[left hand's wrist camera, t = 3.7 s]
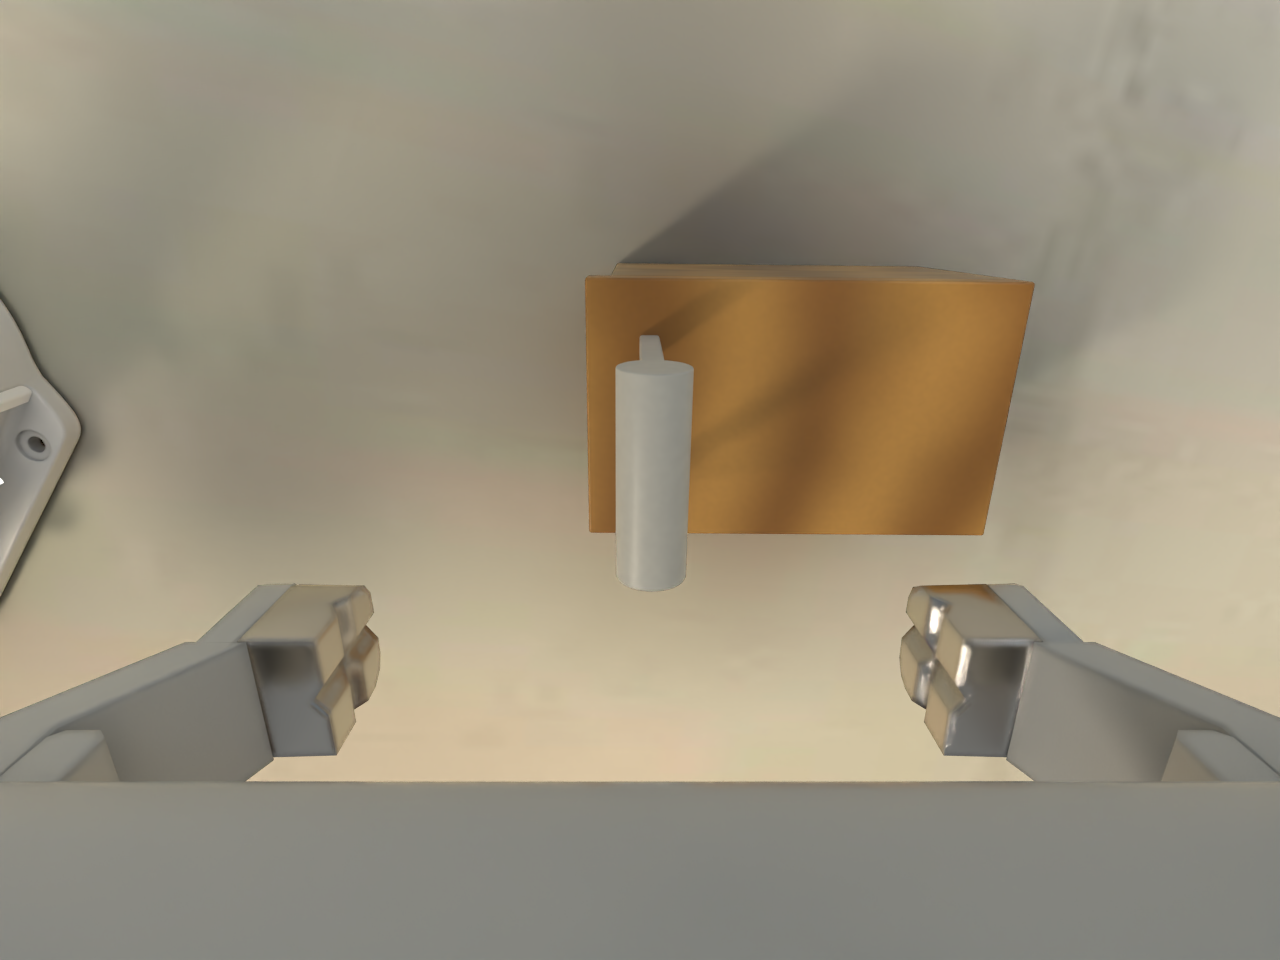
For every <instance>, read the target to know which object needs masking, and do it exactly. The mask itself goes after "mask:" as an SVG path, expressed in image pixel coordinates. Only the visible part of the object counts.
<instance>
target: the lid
mask: <svg viewBox="0 0 1280 960" xmlns="http://www.w3.org/2000/svg"><path fill="white" fill-rule="evenodd" d="M1034 286H1035V284H1034V283H1033V282H1028V281H1021V280H968V279H877V278H785V277H693V276H601V275H589V276H587V277H586V279H585V305H586V365H587V425H588V486H589V531H590V532H596V533H616V576H617V579H618V580H619V581H620V582H621V583H622V584H623V585H625V586H627V587H629V588H632V589H636V590H640V591H651V592H652V591H664V590H668V589H672V588H674V587H676V586H678V585H680V584H681V583H682V582H683V581H684V579H685V577H686V558H687V533H738V534H880V535H983V533H984V529H985V524H986V519H987V514H988V509H989V504H990V499H991V495H992V490H993V485H994V480H995V475H996V470H997V465H998V461H999V456H1000V451H1001V446H1002V441H1003V436H1004V431H1005V427H1006V422H1007V417H1008V412H1009V407H1010V402H1011V397H1012V393H1013V388H1014V383H1015V378H1016V373H1017V368H1018V363H1019V359H1020V354H1021V349H1022V344H1023V339H1024V334H1025V329H1026V325H1027V320H1028V315H1029V310H1030V305H1031V300H1032V295H1033V291H1034Z"/></svg>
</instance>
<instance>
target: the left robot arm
mask: <svg viewBox="0 0 1280 960" xmlns="http://www.w3.org/2000/svg"><path fill="white" fill-rule="evenodd" d="M80 434H81V426H80V422H79V420H78V418H77V416H76V414H75V413H74V411H73V410H72V408H71V407H70V406H69V405H68V403H67V402H66V401H65V400H64V399H63V398H62V396H61V395H60V394H59V393H58V392H57V391H56V390H55V389H54V388H53V387H52V385H51V384H50V383H49V382H48V381H47V380H46V379H45V378H44V377H43V376H42V374H41V373H40V371H39V369H38V368H37V366H36V364H35V362H34V360H33V358H32V356H31V354H30V351H29V349H28V347H27V345H26V342H25V340H24V338H23V336H22V334H21V332H20V330H19V328H18V326H17V324H16V322H15V321H14V319H13V317H12V315H11V314H10V312H9V311H8V309H7V308H6V306H5V305H4V303H3V302H2V301H1V299H0V596H1V594H2V592H3V590H4V588H5V586H6V584H7V582H8V580H9V578H10V576H11V574H12V572H13V570H14V568H15V566H16V564H17V562H18V560H19V558H20V556H21V554H22V552H23V550H24V548H25V546H26V544H27V542H28V540H29V538H30V536H31V534H32V532H33V530H34V528H35V526H36V524H37V522H38V520H39V518H40V516H41V514H42V512H43V510H44V508H45V506H46V504H47V502H48V500H49V498H50V496H51V494H52V492H53V490H54V488H55V486H56V484H57V482H58V480H59V478H60V476H61V474H62V472H63V470H64V468H65V466H66V464H67V462H68V460H69V458H70V456H71V454H72V452H73V450H74V448H75V446H76V444H77V442H78V440H79V438H80ZM39 438H40V439H41V440H42V441H43V442H44V443H45V446H43V445H42V444H41V442H40V439H39ZM373 613H374V609H373V604H372V599H371V594H370V592H369V590H368V589H367V588H366V587H365V586H364V585H311V584H299V585H297V584H265V585H258V586H257V587H256V588H254V589H253V590H252V591H251V592H250V593H249V594H248V595H247V596H246V597H245V598H244V599H243V600H241V601H240V602H239V603H238V604H237V605H236V606H235V607H234V608H233V609H232V610H231V611H230V612H228V613H227V614H226V615H225V616H224V617H223V618H222V619H221V620H220V621H219V622H218V623H216V624H215V625H214V626H213V627H212V628H211V629H210V630H209V631H208V632H207V633H206V634H205V635H203V636H202V637H201V638H200V639H199V640H198V641H197V642H185V643H182V644H180V645H177V646H175V647H172V648H170V649H167V650H165V651H162V652H160V653H158V654H155V655H153V656H150V657H148V658H145V659H143V660H140V661H138V662H135V663H133V664H131V665H128V666H126V667H123V668H121V669H118V670H116V671H113V672H111V673H108V674H106V675H104V676H101V677H99V678H96V679H94V680H91V681H89V682H86V683H84V684H81V685H79V686H77V687H74V688H72V689H69V690H67V691H64V692H62V693H59V694H57V695H54V696H52V697H50V698H47V699H45V700H42V701H40V702H37V703H35V704H32V705H30V706H27V707H25V708H23V709H20V710H18V711H15V712H13V713H10V714H8V715H5V716H3V717H0V960H1280V718H1279V717H1277V716H1274V715H1272V714H1269V713H1267V712H1264V711H1262V710H1259V709H1257V708H1255V707H1252V706H1250V705H1247V704H1245V703H1242V702H1240V701H1237V700H1235V699H1233V698H1230V697H1228V696H1225V695H1223V694H1220V693H1218V692H1215V691H1213V690H1211V689H1208V688H1206V687H1203V686H1201V685H1198V684H1196V683H1193V682H1191V681H1188V680H1186V679H1184V678H1181V677H1179V676H1176V675H1174V674H1171V673H1169V672H1166V671H1164V670H1162V669H1159V668H1157V667H1154V666H1152V665H1149V664H1147V663H1144V662H1142V661H1140V660H1137V659H1135V658H1132V657H1130V656H1127V655H1125V654H1122V653H1120V652H1118V651H1115V650H1113V649H1110V648H1108V647H1105V646H1103V645H1100V644H1098V643H1095V642H1083V641H1082V640H1081V639H1080V638H1079V637H1078V636H1077V635H1076V634H1074V633H1073V632H1072V631H1071V630H1070V629H1069V628H1068V627H1067V626H1066V625H1065V624H1064V623H1063V622H1061V621H1060V620H1059V619H1058V618H1057V617H1056V616H1055V615H1054V614H1053V613H1052V612H1051V611H1050V610H1048V609H1047V608H1046V607H1045V606H1044V605H1043V604H1042V603H1041V602H1040V601H1039V600H1038V599H1037V598H1035V597H1034V596H1033V595H1032V594H1031V593H1030V592H1029V591H1028V590H1027V589H1026V588H1025V587H1024V586H1021V585H1018V584H1014V583H1012V584H989V585H986V584H973V585H931V586H917V587H913V588H912V590H911V593H910V595H909V597H908V603H907V608H906V613H907V615H908V616H909V618H910V619H911V621H912V622H913V624H914V626H913V627H912V628H911V629H910V630H909V631H908V632H907V633H906V634H905V635H904V636H903V637H902V640H901V649H900V657H899V658H900V668H901V677H902V680H903V683H904V686H905V689H906V691H907V693H908V695H909V696H910V698H911V700H912V701H913V702H915V703H916V704H918V705H920V706H921V707H923V708H924V709H926V713H925V719H924V723H925V724H926V726H927V728H928V729H929V731H930V733H931V735H932V736H933V738H934V740H935V741H936V743H937V745H938V747H939V748H940V750H941V752H942V753H943V755H947V756H984V757H1007V758H1006V760H1007V761H1008V762H1010V763H1011V764H1012V765H1014V766H1015V767H1016V768H1018V769H1019V770H1020V771H1022V772H1023V773H1024V774H1026V775H1027V776H1028V777H1030V778H1031V779H1032V780H1034V781H746V782H245V781H246V780H248V779H249V778H250V777H252V776H253V775H254V774H256V773H257V772H258V771H260V770H261V769H262V768H264V767H265V766H266V765H268V764H269V763H270V762H272V761H273V760H274V759H273V757H295V756H331V755H337V754H338V752H339V750H340V748H341V747H342V745H343V743H344V742H345V740H346V738H347V736H348V735H349V733H350V731H351V730H352V728H353V726H354V724H355V723H356V719H355V713H354V709H356V708H357V707H359V706H360V705H362V704H364V703H365V702H367V701H368V700H369V698H370V696H371V694H372V693H373V691H374V689H375V687H376V683H377V679H378V675H379V670H380V647H379V640H378V637H377V636H376V635H375V634H374V633H373V632H372V631H371V630H370V629H369V628H368V627H367V626H366V624H367V622H368V621H369V619H370V618H371V616H372V615H373Z"/></svg>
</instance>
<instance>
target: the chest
mask: <svg viewBox="0 0 1280 960" xmlns="http://www.w3.org/2000/svg"><path fill="white" fill-rule="evenodd" d="M611 276H693V277H785V278H877V279H968V280H1015V279H1007V278H1000V277H992V276H985V275H977V274H970V273H962V272H955V271H947V270H940V269H932V268H925V267H914V266H824V265H734V264H644V263H618V264H617V265H616V267H615V269H614V271H613V273H612V275H611Z"/></svg>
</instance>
